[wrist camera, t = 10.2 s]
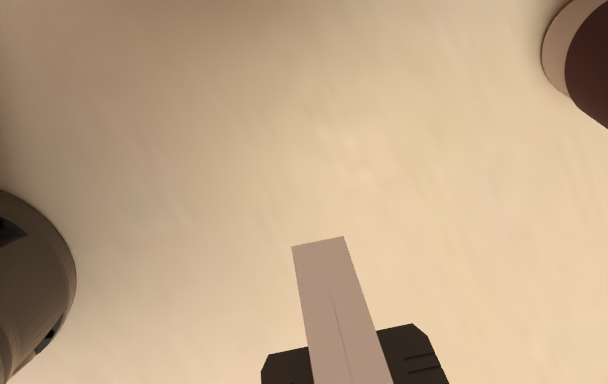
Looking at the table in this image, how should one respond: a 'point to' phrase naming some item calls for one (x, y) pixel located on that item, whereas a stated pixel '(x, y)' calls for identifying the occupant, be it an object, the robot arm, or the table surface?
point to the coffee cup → (580, 56)
